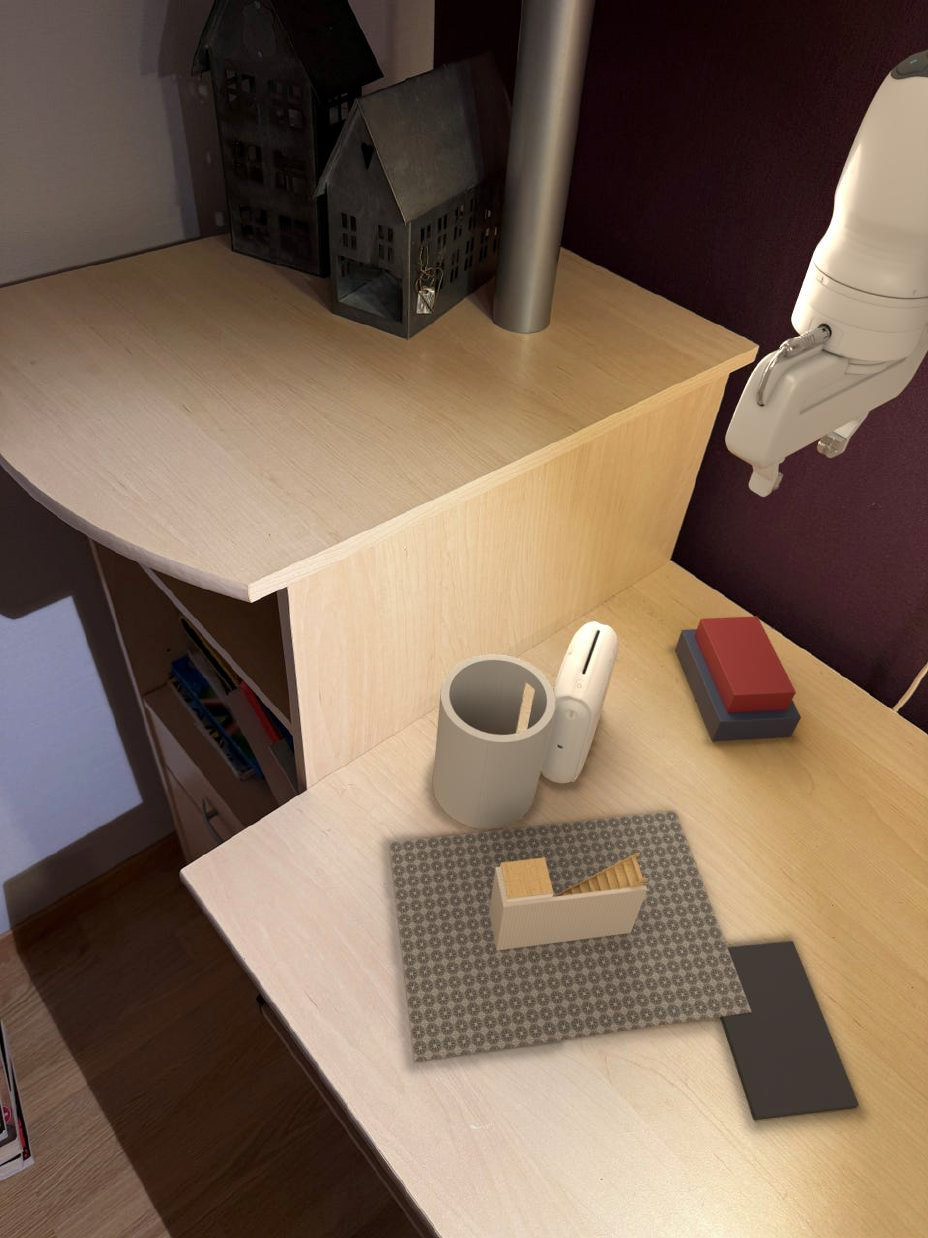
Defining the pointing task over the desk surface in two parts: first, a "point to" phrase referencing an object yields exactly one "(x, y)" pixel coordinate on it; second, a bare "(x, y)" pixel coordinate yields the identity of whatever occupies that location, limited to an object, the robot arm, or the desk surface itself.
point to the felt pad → (783, 1038)
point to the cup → (490, 740)
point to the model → (557, 935)
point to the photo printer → (579, 700)
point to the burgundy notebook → (744, 664)
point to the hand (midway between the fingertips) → (796, 470)
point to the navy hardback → (713, 708)
